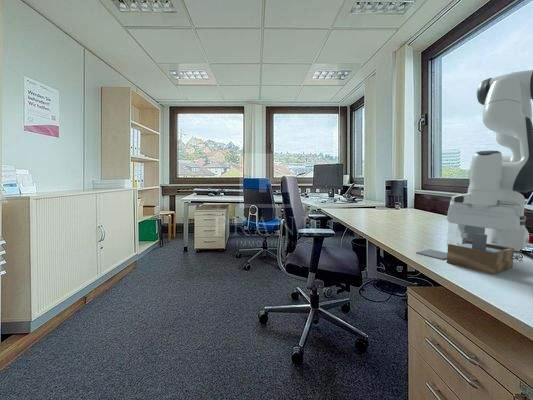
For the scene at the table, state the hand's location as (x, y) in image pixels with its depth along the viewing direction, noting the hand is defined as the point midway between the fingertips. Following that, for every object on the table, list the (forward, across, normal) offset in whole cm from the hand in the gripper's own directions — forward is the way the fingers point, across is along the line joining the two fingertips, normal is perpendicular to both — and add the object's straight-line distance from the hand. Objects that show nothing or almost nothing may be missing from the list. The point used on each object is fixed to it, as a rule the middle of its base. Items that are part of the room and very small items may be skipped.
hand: (479, 240), depth 101 cm
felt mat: (+8, +14, -1) cm, 16 cm away
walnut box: (+8, 0, 0) cm, 9 cm away
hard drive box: (+8, +12, -18) cm, 23 cm away
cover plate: (+4, 0, 0) cm, 4 cm away
